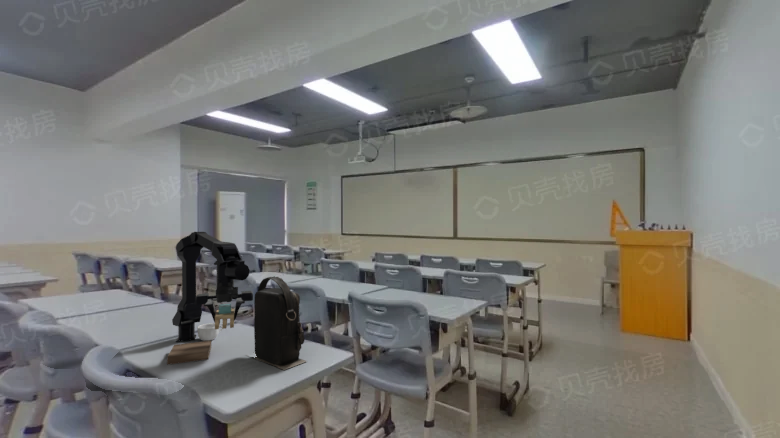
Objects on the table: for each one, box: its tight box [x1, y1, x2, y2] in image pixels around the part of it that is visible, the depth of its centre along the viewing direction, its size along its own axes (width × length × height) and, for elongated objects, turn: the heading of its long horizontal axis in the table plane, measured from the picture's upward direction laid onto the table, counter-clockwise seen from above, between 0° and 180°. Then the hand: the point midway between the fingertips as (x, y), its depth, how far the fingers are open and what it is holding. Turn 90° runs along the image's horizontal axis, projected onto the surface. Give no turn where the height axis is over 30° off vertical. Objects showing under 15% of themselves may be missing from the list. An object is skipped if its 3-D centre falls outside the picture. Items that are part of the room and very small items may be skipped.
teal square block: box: [218, 303, 232, 314], centre depth 129 cm, size 4×4×2 cm
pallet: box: [215, 308, 235, 330], centre depth 129 cm, size 10×6×4 cm, turn 23°
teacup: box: [196, 322, 223, 342], centre depth 144 cm, size 10×8×5 cm
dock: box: [166, 340, 212, 365], centre depth 125 cm, size 13×12×2 cm
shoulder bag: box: [253, 276, 308, 371], centre depth 123 cm, size 23×9×28 cm, turn 53°
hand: (224, 321), depth 129 cm, fingers closed on pallet, 6 cm apart
